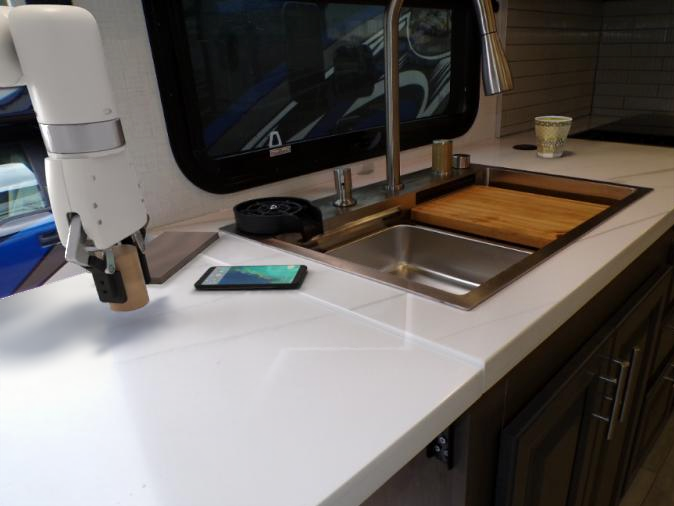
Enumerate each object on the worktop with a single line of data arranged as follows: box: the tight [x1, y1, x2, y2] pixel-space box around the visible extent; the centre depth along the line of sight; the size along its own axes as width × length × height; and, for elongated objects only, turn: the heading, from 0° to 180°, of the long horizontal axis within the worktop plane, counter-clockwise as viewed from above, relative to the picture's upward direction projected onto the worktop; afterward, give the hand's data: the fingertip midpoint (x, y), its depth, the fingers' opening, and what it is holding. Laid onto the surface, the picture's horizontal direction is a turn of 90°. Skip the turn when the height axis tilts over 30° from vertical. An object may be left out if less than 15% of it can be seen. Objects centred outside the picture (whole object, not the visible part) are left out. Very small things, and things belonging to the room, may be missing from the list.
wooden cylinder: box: [95, 244, 150, 313], centre depth 63 cm, size 4×4×7 cm
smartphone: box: [193, 264, 308, 290], centre depth 76 cm, size 7×1×15 cm
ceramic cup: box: [534, 115, 573, 159], centre depth 148 cm, size 13×10×10 cm
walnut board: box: [142, 230, 220, 285], centre depth 85 cm, size 10×20×1 cm, turn 174°
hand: (126, 291), depth 64 cm, fingers closed on wooden cylinder, 4 cm apart
